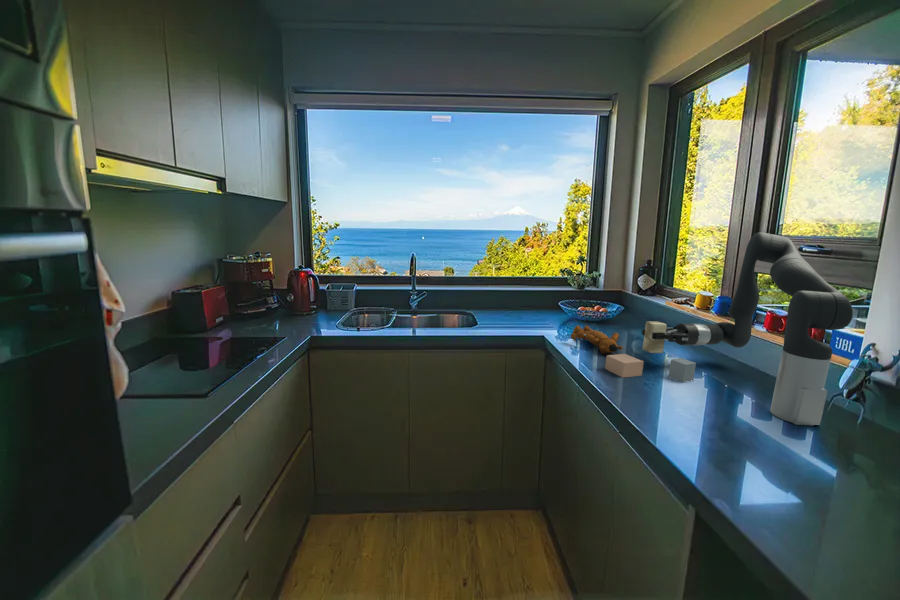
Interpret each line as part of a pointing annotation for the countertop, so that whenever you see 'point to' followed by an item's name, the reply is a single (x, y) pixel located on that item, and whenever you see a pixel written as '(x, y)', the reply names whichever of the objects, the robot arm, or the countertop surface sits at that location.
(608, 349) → the toy
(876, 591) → the countertop surface
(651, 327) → the beech pillar
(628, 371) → the terracotta block
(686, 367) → the grey block
